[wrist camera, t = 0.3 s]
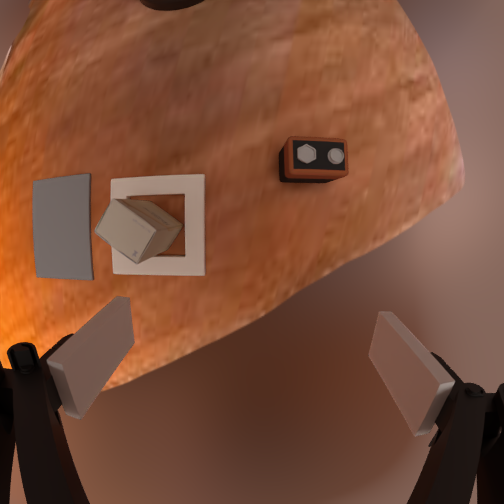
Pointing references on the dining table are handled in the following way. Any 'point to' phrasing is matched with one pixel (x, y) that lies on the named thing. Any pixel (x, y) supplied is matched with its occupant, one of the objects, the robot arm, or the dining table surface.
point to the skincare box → (137, 228)
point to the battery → (313, 160)
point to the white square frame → (194, 224)
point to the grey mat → (63, 227)
